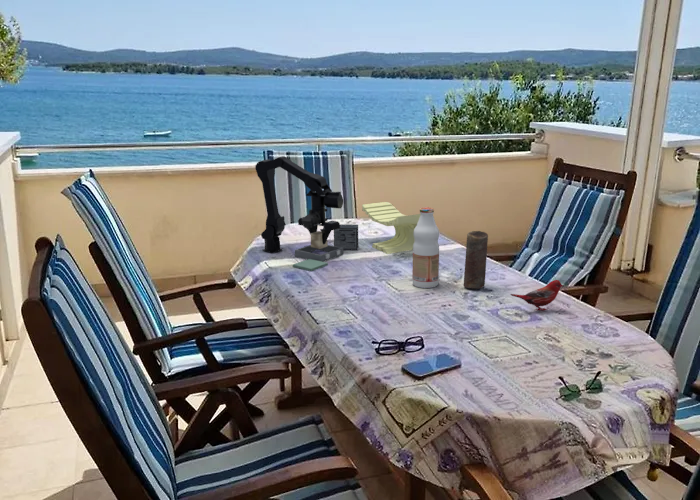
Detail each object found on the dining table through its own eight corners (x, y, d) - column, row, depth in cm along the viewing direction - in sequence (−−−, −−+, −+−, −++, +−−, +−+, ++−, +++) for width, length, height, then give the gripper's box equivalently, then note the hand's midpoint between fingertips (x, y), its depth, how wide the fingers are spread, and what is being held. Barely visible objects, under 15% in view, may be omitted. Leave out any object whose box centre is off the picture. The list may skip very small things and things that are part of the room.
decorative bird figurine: (563, 310, 193) (566, 280, 191) (511, 314, 191) (512, 284, 188) (559, 307, 196) (561, 278, 194) (507, 311, 193) (509, 281, 191)
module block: (310, 247, 257) (310, 233, 255) (318, 244, 260) (318, 231, 259) (319, 248, 254) (319, 235, 252) (327, 246, 257) (327, 232, 256)
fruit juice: (414, 288, 215) (415, 211, 208) (410, 280, 224) (411, 206, 217) (440, 288, 216) (442, 211, 208) (435, 280, 225) (437, 205, 217)
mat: (292, 266, 243) (292, 264, 243) (309, 261, 250) (309, 258, 250) (311, 271, 237) (311, 268, 237) (327, 265, 245) (327, 262, 244)
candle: (487, 286, 217) (490, 231, 212) (482, 292, 211) (485, 236, 206) (466, 283, 221) (468, 229, 215) (461, 289, 214) (463, 234, 209)
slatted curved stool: (429, 253, 259) (430, 212, 255) (397, 258, 252) (398, 216, 248) (392, 238, 285) (392, 201, 280) (362, 242, 278) (362, 204, 273)
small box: (358, 246, 272) (358, 223, 269) (357, 250, 265) (357, 227, 263) (335, 246, 273) (335, 223, 270) (333, 250, 266) (333, 227, 264)
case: (294, 256, 257) (294, 250, 256) (317, 249, 268) (317, 242, 267) (322, 262, 248) (322, 255, 247) (344, 254, 259) (344, 248, 258)
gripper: (288, 207, 252) (289, 243, 256) (322, 212, 241) (323, 250, 245) (306, 203, 260) (307, 238, 265) (340, 208, 249) (340, 245, 253)
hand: (319, 243), depth 257 cm, fingers closed on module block, 5 cm apart
